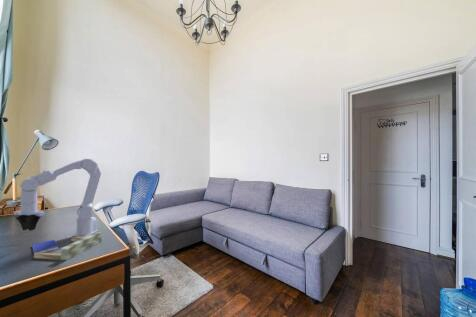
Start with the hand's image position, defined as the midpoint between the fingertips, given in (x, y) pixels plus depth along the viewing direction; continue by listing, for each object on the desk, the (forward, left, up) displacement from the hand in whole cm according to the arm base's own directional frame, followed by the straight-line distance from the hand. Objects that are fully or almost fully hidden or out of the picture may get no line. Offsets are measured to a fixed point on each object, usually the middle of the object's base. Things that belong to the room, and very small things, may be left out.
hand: (28, 229), depth 97 cm
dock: (0, +23, -8) cm, 24 cm away
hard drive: (0, +9, -9) cm, 13 cm away
